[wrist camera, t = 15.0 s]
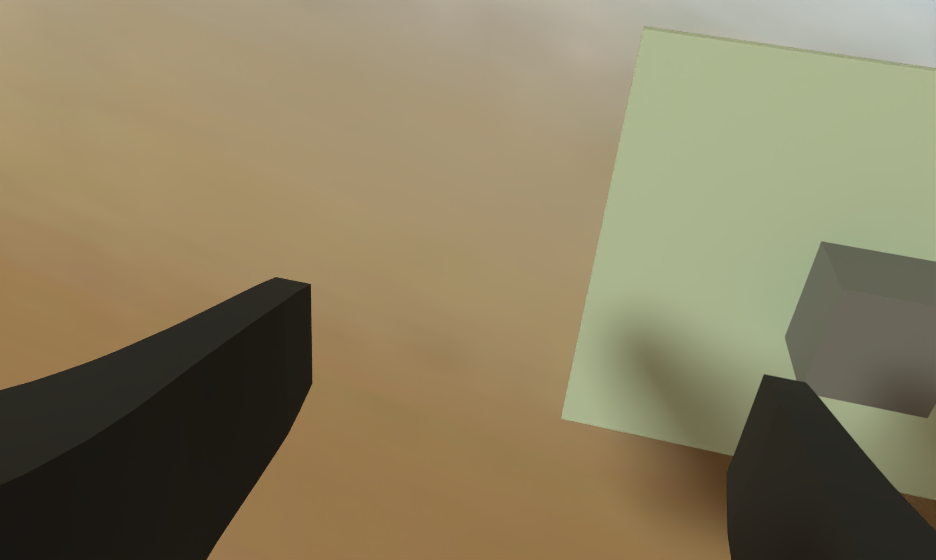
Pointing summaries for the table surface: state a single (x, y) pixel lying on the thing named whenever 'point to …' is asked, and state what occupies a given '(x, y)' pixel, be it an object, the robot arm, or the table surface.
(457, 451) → the table surface
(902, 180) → the toolbox lid
